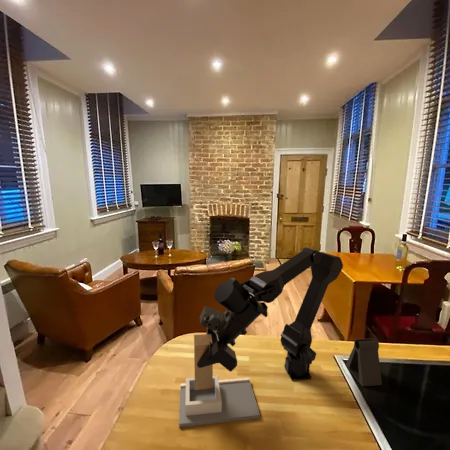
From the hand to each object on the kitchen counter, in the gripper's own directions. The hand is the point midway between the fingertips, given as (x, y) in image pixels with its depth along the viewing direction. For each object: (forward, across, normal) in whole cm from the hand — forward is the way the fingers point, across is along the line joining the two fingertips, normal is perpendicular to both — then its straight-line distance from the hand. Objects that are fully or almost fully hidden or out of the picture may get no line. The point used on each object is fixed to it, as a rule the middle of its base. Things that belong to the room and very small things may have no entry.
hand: (197, 359), depth 67 cm
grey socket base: (+5, +1, +13) cm, 14 cm away
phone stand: (-26, -4, +46) cm, 53 cm away
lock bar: (+4, 0, +6) cm, 7 cm away
